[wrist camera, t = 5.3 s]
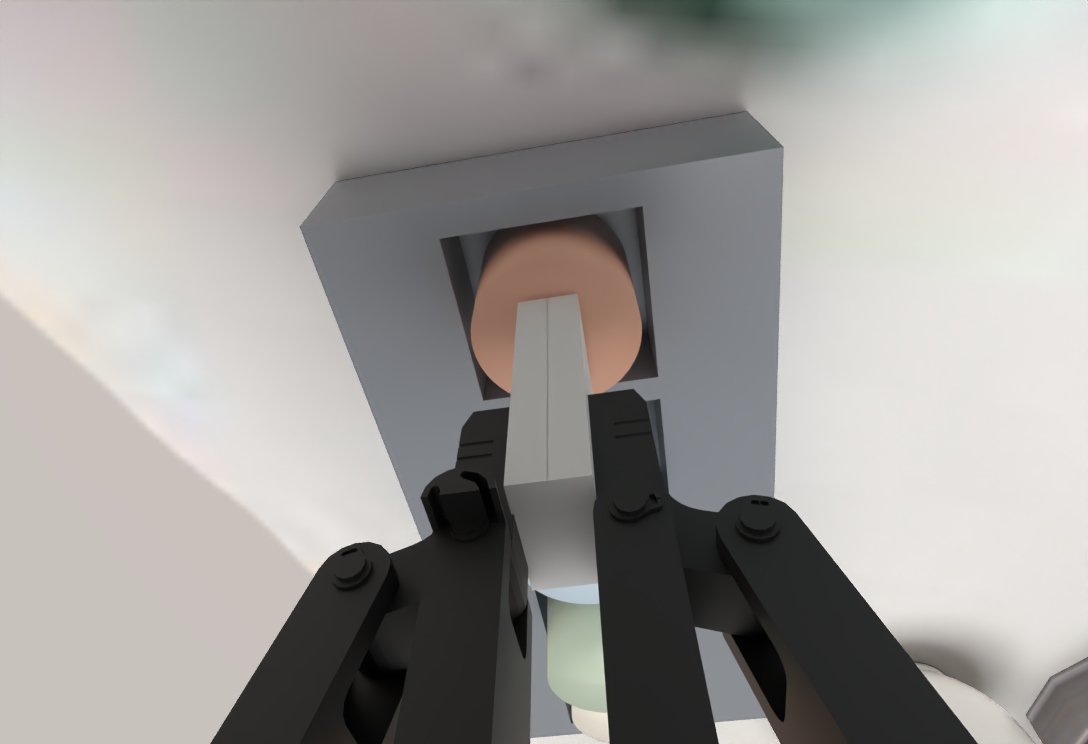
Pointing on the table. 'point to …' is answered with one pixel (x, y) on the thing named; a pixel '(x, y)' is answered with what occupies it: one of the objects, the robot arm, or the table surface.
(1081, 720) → the can
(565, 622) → the sage button
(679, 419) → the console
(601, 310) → the terracotta button
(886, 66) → the table surface
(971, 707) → the lidded jar
